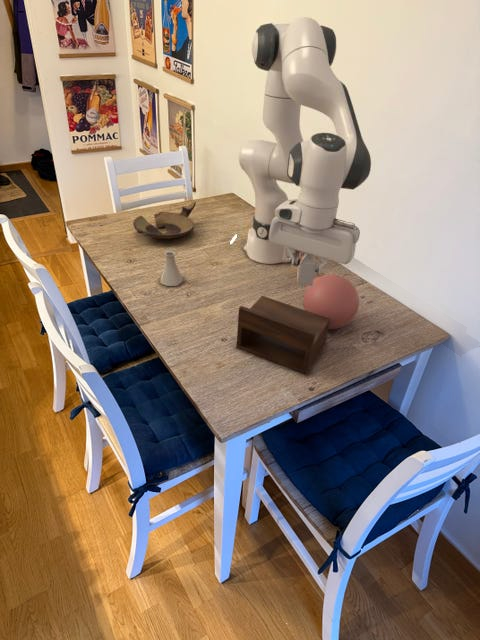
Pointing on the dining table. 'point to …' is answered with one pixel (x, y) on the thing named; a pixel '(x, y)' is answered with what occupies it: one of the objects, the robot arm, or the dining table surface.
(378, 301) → the dining table surface
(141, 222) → the broken brown bowl
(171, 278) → the flask
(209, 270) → the dining table surface
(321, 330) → the rack
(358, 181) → the robot arm
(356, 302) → the balloon
